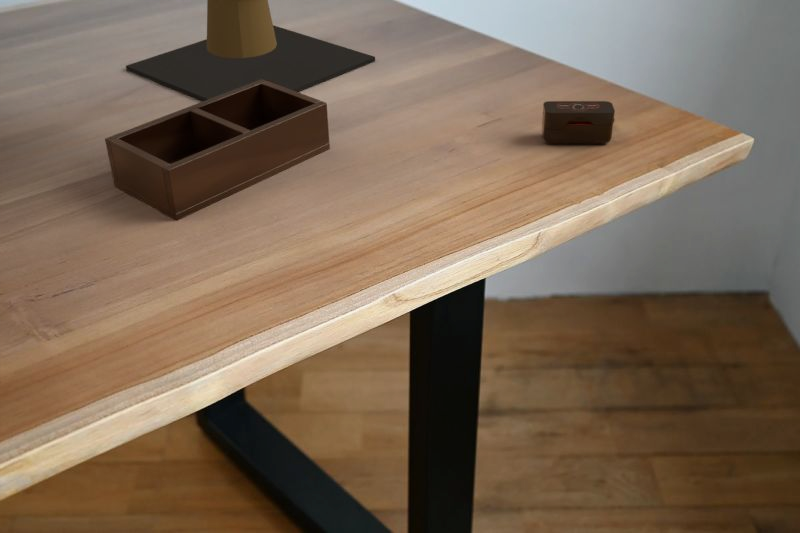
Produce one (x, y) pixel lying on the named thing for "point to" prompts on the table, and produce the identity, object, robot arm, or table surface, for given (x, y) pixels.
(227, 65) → the mat
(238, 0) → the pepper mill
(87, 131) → the table surface
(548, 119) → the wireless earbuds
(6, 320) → the table surface
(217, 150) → the organizer
